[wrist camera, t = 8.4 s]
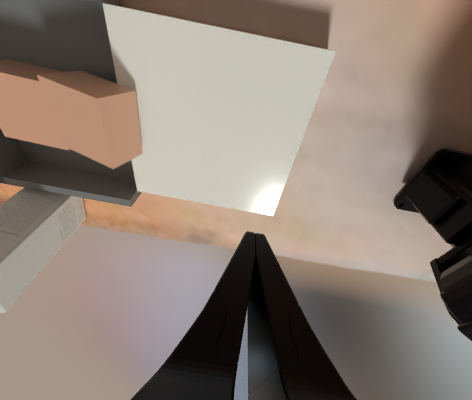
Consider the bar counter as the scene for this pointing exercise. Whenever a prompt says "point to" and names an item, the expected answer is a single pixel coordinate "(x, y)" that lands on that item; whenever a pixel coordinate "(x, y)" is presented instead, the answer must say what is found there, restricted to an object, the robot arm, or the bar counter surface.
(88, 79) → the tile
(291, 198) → the bar counter surface
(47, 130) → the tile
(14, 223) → the skincare box
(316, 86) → the plate
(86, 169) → the tray
